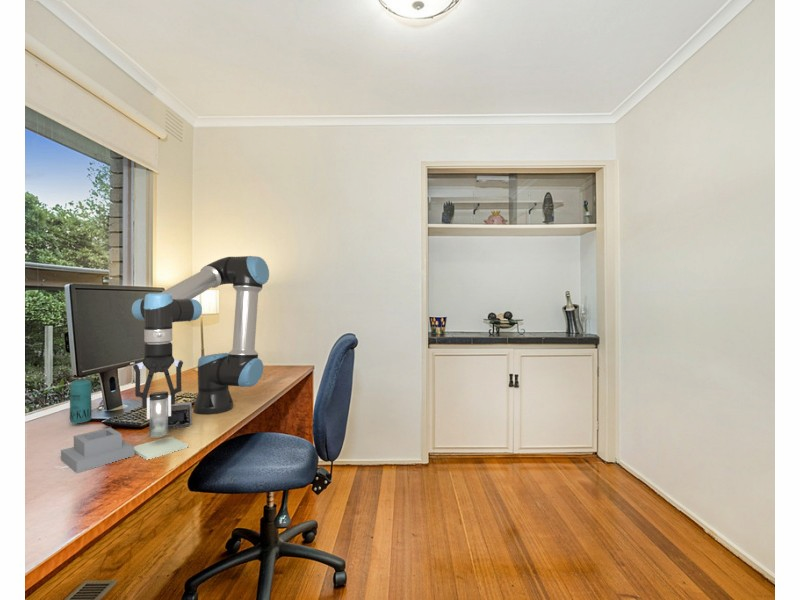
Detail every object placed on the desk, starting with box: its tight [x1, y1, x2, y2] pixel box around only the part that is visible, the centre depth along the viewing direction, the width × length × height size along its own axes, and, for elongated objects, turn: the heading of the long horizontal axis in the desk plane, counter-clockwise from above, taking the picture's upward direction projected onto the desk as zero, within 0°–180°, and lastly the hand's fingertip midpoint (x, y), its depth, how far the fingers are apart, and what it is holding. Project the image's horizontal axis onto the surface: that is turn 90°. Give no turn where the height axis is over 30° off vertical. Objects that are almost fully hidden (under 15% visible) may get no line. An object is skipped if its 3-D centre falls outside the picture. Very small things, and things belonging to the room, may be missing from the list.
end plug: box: [148, 390, 169, 438], centre depth 127 cm, size 5×5×13 cm
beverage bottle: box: [69, 374, 93, 424], centre depth 150 cm, size 6×7×20 cm
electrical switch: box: [168, 401, 193, 431], centre depth 146 cm, size 9×5×9 cm, turn 113°
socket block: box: [60, 427, 135, 474], centre depth 120 cm, size 14×14×7 cm
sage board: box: [133, 436, 189, 461], centre depth 127 cm, size 12×12×1 cm
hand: (158, 416), depth 127 cm, fingers closed on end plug, 5 cm apart
